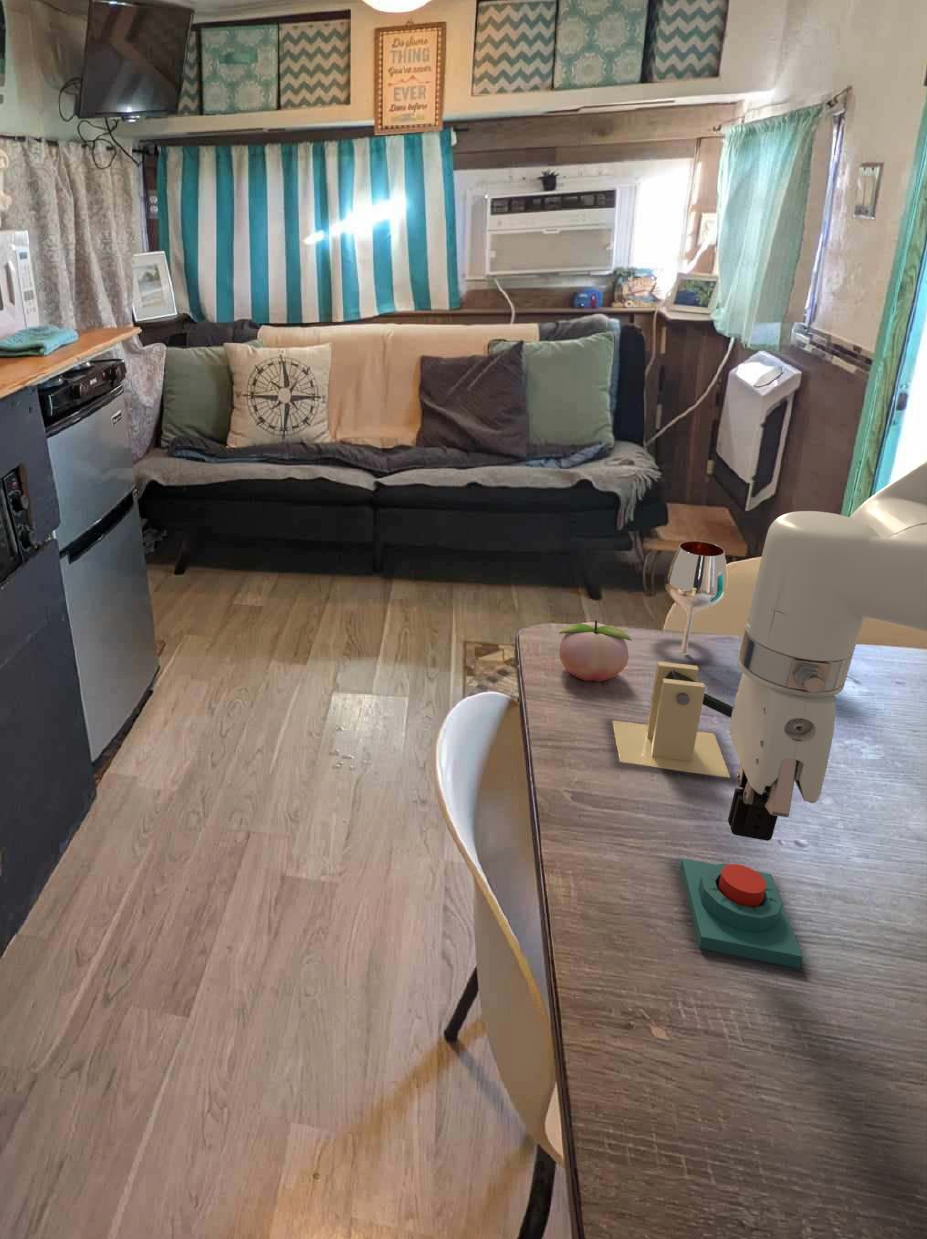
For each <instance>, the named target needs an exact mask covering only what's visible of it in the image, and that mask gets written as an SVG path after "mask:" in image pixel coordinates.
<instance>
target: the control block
mask: <svg viewBox="0 0 927 1239" xmlns="http://www.w3.org/2000/svg"><path fill="white" fill-rule="evenodd" d="M730 864H731V863H730ZM730 864H729V863H718V864H715V863H711V862H705V861H704V862H703V861H697V860H694V859H693V860H691V859H686V858H681V861H680V867H679V872H680V875H681V876H680V877H681V881H682V884H683V889H684V892H685V896H686V901H687V905H688V909H689V913H690V918H691V922H692V926H693V930H694V933H695V938H696V942H697V946H698V948H699V949H701V950H707V951H711V952H715V953H721V954H726V955H730V956H736V957H741V958H746V959H751V960H756V961H760V962H766V963H770V964H771V963H772V964H776V965H781V966H785V967H789V968H794V969H800V967H801V964H802V960H803V955H802V951H801V950H800V946H799V944H798V940H797V938H796V936H795V934H794V931H793V928H792V925H791V922H790V920H789V918H788V914H787V912H786V910H785V907H784V902H783V900H782V897H781V895H780V892H779V890H778V888H777V886H776V883H775V880H774V878H773V875H772V873H767V872H762V871H756V872H757V873H759V874H760V875H761V876H762V877H763V879H764V880H765V882H766V890H765V894H764V898H763V902H762V903H761V904H760V905H759V906H757V907H747V906H741V905H738V904H736V903H734V902H732V901H730V900H729V899H727V898H726V897H725V896H724V895H723V894H722V893H721V891H720V889H719V882H720V877H721V873H722V869H723V868H724V867H725V866H727V865H730Z"/></svg>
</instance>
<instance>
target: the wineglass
mask: <svg viewBox="0 0 927 1239" xmlns="http://www.w3.org/2000/svg"><path fill="white" fill-rule="evenodd" d="M663 586H664V589H665V591H666V593H667V595H668V596H669V598H670V599H671V600H672V601H673V602H675V604H676V605H678V606H679V607H680V608H681V610H682V611H683V612H684V613H685V615H686V619H685V625H684V631H683V635H682V641H681V646H680V649H679V651H678V654H679V655H681V656H689V652H688V650H689V648H688V647H689V641H690V635H691V630H692V624H693V619H694V617H695V615H698V614H699V613H701V612H703V611H705V610H707V609H710V608H712V607H715V606H716V605H717V604H719V603H720V602H721V601H722V600H723V599H724V598H725V597H726V595H727V593H728V590H729V574H728V565H727V559H726V553H725V549H724V548H723V547H721V546H720V545H717V544H715V543H712V542H707V541H701V540H687V541H683V542H681V543H680V544H679V545H678V547H677V549H676V551H675V553H674V555H673V557H672V558H671V561H670V563H669V565H668V567H667V569H666V572H665V574H664V579H663Z"/></svg>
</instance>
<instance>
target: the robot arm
mask: <svg viewBox="0 0 927 1239" xmlns="http://www.w3.org/2000/svg"><path fill="white" fill-rule="evenodd" d="M765 536H766V537H765V541H764V545H763V550H762V553H761V558H760V563H759V567H758V571H757V575H756V579H755V585H754V589H753V593H752V598H751V601H750V606H749V611H748V614H747V615H748V616H747V620H746V625H745V628H744V632H743V637H742V641H741V645H740V650H739V654H738V655H739V656H738V659H737V665H738V667H739V669H740V671H741V672H742V674H741V677H740V680H739V684H738V688H737V691H736V695H735V699H734V702H733V706H732V707H733V711H732V716H731V718H730V722H729V734H730V739H731V741H732V745H733V747H734V750H735V753H736V755H737V757H738V760H739V763H738V769H737V775H736V786H737V787H735V788H734V792H733V797H732V800H731V804H730V808H729V812H728V817H727V822H728V825H729V827H730V832H731V834H732V835H734V836H738V837H743V838H744V837H745V838H749V839H755V840H761V841H771V840H772V838H773V836H774V831H775V829H776V824H777V820H778V817H782V818H789V817H790V812H791V806H792V799H793V793H794V792H793V791H794V785H795V784H796V786H797V789H798V791H799V792H800V795H801V797H802V799H803V801H804V802H808V803H810V804H815V803H817V801H819V799H820V797H821V794H822V790H823V785H824V783H825V782H824V781H825V777H826V774H827V769H828V763H829V758H830V754H831V750H832V749H831V748H832V745H833V744H832V743H833V738H834V732H835V724H836V714H837V713H836V712H837V697H836V695H839V694H840V693H841V692H842V691H843V690H844V687H845V684H846V681H847V677H848V674H849V671H850V670H849V669H850V667H851V664H852V661H853V656H854V652H855V649H856V646H857V643H858V639H859V636H860V632H861V629H862V625H863V621H864V619H871V620H875V621H880V622H884V623H889V624H894V625H897V626H902V627H906V628H910V629H915V630H917V631H918V630H919V631H924V632H927V460H925V461H923V462H922V463H920V464H918V465H917V466H915V467H913V468H911V469H910V470H909V471H907V472H906V473H904V474H903V475H901V476H900V477H898V478H897V479H895V480H893V481H892V482H890V483H889V484H887V485H886V486H884V487H883V488H881V489H880V490H879V491H877V492H876V493H874V494H873V495H872V496H870V497H869V498H868V499H866V500H865V501H864V502H863V503H862V504H861V505H860V506H858V507H857V509H856V510H854V512H852V514H851V515H850V516H846V515H843V514H838V513H833V512H826V511H817V510H815V511H814V510H801V511H792V512H787V513H785V514H782V515H780V516H778V517H777V518H775V519H774V520H773V521H772V523H771V524H770V526H769V527H768V530H767V533H766V535H765Z"/></svg>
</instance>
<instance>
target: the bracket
mask: <svg viewBox="0 0 927 1239" xmlns="http://www.w3.org/2000/svg"><path fill="white" fill-rule="evenodd" d="M655 669H656V670H655V676H654V683H653V688H652V695H651V699H650V706H649V713H648V718H647V724H643V723H636V722H629V721H628V722H627V721H621V720H614V719H613V720H611V721H612V728H613V733H614V739H615V744H616V748H617V755H618V760H619V763H624V764H628V765H629V764H630V765H637V766H643V767H650V768H651V767H652V768H658V769H665V770H672V771H678V772H685V773H691V774H692V773H693V774H699V775H704V776H705V775H707V776H713V777H718V778H719V777H720V778H727V779H731V775H730V772H729V769H728V766H727V765H726V762H725V759H724V756H723V753H722V750H721V748H720V746H719V742H718V740H717V737H716V735H715V733H713V732H712V733H711V732H705V731H698V729H699V724H700V719H701V714H702V708H703V698H704V693H705V692H706V684H705V682H699V681H698V676H699V672H700V669H699V667H698V665H692V664H686V663H685V664H683V663H675V662H665V661H657V663H656V668H655ZM671 670H673V671H675V672H677V673H680V674H682V675H684V676H686V677H688V678H690V679H692V680H694V682H690V681H681V680H672V679H665V678H666V677H667V676H668V674H669V673H670V672H671ZM661 683H662V686H661ZM705 694H706V693H705Z"/></svg>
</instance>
